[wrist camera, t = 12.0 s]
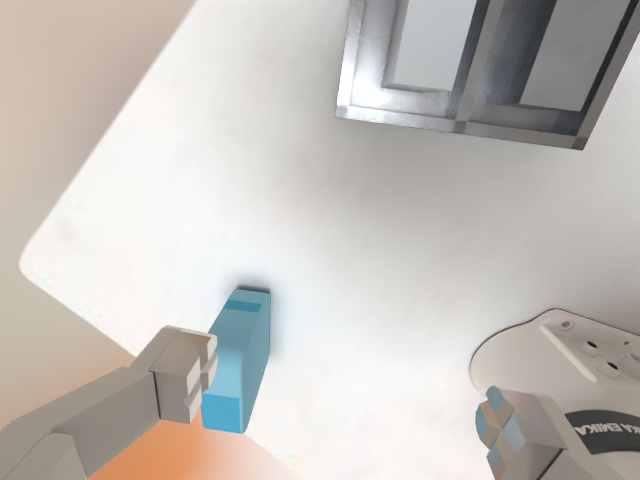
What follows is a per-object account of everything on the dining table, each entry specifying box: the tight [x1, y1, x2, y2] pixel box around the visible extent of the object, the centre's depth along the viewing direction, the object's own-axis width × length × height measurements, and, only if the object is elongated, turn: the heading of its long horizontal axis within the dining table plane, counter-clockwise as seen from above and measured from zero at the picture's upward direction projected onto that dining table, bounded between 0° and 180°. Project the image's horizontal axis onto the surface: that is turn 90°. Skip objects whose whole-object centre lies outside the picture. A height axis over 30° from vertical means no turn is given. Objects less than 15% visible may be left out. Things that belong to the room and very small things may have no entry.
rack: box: [335, 0, 640, 150], centre depth 23 cm, size 21×17×7 cm
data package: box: [201, 289, 270, 434], centre depth 36 cm, size 12×4×12 cm, turn 175°
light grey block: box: [381, 0, 477, 93], centre depth 22 cm, size 4×11×8 cm, turn 173°
